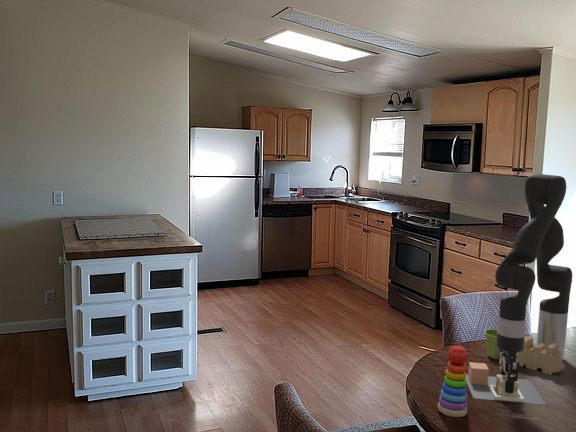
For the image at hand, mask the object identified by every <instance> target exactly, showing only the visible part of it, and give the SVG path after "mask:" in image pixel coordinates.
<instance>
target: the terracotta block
mask: <svg viewBox="0 0 576 432" xmlns="http://www.w3.org/2000/svg"><path fill="white" fill-rule="evenodd" d="M489 370H490V369H489V367H488V366H487V364H486V363H484V362H483V363H482V362H471V361H469V362H468V372H467V374H468V379H469V381H470V383H471V384H478V385H488V376H489V372H490V371H489Z"/></svg>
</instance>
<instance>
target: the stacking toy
mask: <svg viewBox="0 0 576 432" xmlns="http://www.w3.org/2000/svg"><path fill="white" fill-rule="evenodd" d="M447 355H448V359H449V362H448V363H447V364H446V368H447V369H445V373H444V374H445V376H444V378H443V381H444V382H443V384H442V388H441V390H440V395H439V398H438V403H437V409H438V411H439V412H440V413H441V414H444V415H445V416H448V417H452V418H462V417H464V416H466V415H467V414H468V401H467V399H468V393H467V385H468V384H467V381H466V379H465V378H466V374H467V373H466V371H467V365H466V364H465V363H466V362H467V360H468V352H467V350H466V349H465V347H463V346H461V345H453V346H452V347H451V348H450V349H449V350H448V352H447Z"/></svg>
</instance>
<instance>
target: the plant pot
mask: <svg viewBox="0 0 576 432" xmlns="http://www.w3.org/2000/svg"><path fill="white" fill-rule="evenodd" d="M484 334H485V338H486V352H487V356H488V357H489V358H491V359H494V360H499V348H498V347H497V346H496V339H497V329H495V328H490V329H489V328H488V329H485V330H484Z"/></svg>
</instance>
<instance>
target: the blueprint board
mask: <svg viewBox="0 0 576 432" xmlns="http://www.w3.org/2000/svg"><path fill="white" fill-rule="evenodd" d="M465 379H466V381H467V384H466V385H467V386H468V389H469V391H470V393H471V396H472V398H473V399H476V400H477V399H478V400H486V401H487V400H489V401H499V402H508V403H509V402H510V403H519V404H520V403H521V404H531V405H543V406H547V404H546V402H545V400H544V399H543V398H542V396H541V394H539V392H538V390H537V389H536V387H535V386H534V385H533V383H532V382H531V381H530V380H529V379H526V378H518V380H517V381H518V394H517V397H511V396H500V395H497V393H496V391H495V387H496V376H490V375H488V385H478V384H471V383H470V381H469V379H468V373H466V378H465Z"/></svg>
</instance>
